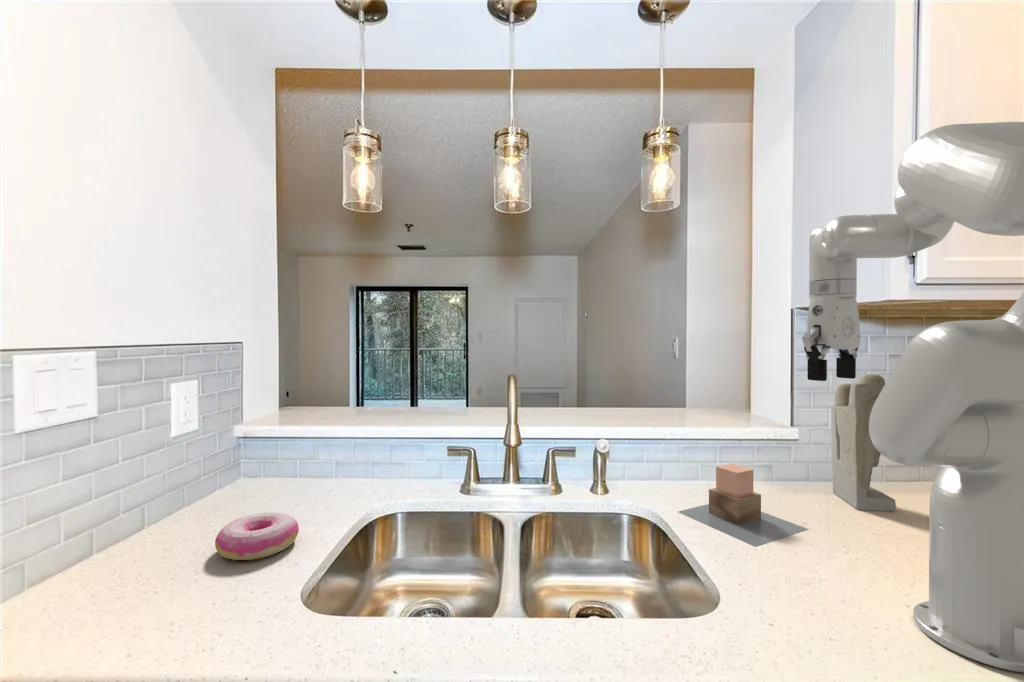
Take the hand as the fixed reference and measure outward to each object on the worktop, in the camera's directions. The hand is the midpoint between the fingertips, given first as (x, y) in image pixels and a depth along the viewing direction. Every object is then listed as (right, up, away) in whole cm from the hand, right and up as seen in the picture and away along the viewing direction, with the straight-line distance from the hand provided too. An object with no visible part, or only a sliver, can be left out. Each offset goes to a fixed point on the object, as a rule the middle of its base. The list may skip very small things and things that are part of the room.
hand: (831, 379), depth 88 cm
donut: (-109, -31, -4) cm, 113 cm away
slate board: (-15, -30, +5) cm, 34 cm away
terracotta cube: (-16, -24, +7) cm, 30 cm away
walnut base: (-15, -29, +7) cm, 34 cm away
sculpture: (+19, -30, +17) cm, 39 cm away
